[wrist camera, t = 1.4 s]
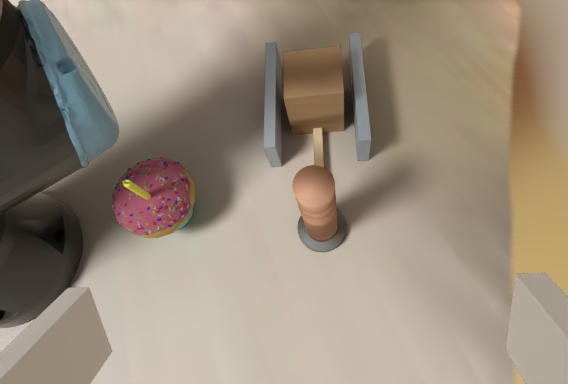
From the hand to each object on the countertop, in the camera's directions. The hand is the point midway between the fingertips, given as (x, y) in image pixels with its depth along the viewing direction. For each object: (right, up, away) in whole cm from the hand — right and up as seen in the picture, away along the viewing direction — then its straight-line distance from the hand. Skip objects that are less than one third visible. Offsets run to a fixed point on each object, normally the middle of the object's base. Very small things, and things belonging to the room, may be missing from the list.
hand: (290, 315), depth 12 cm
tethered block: (+4, +7, +30) cm, 31 cm away
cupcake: (-13, +2, +31) cm, 34 cm away
